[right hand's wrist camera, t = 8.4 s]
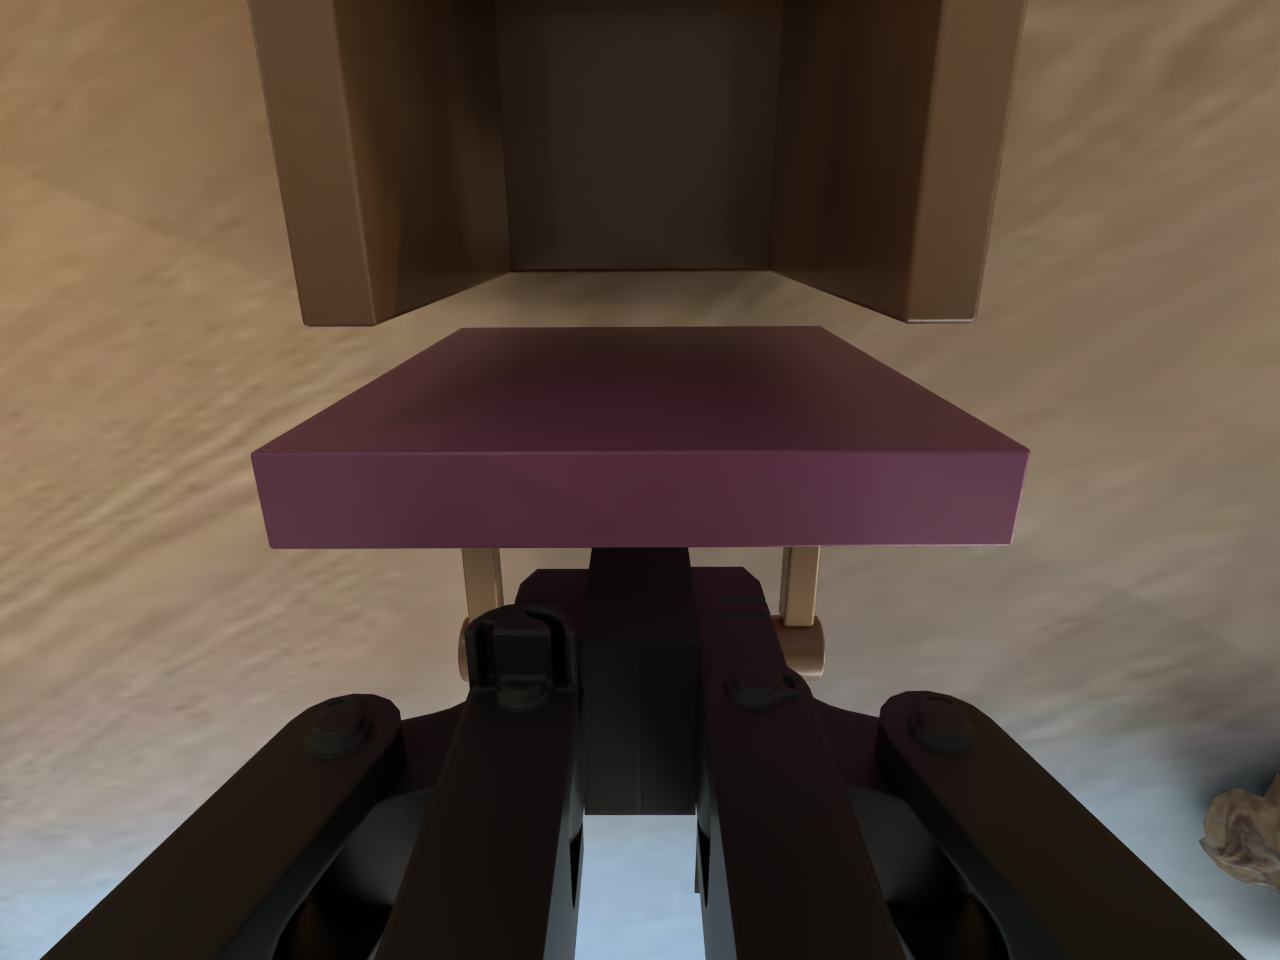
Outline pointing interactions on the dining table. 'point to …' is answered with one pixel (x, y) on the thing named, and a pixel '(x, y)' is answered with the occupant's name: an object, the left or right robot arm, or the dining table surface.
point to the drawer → (639, 242)
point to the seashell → (1246, 834)
